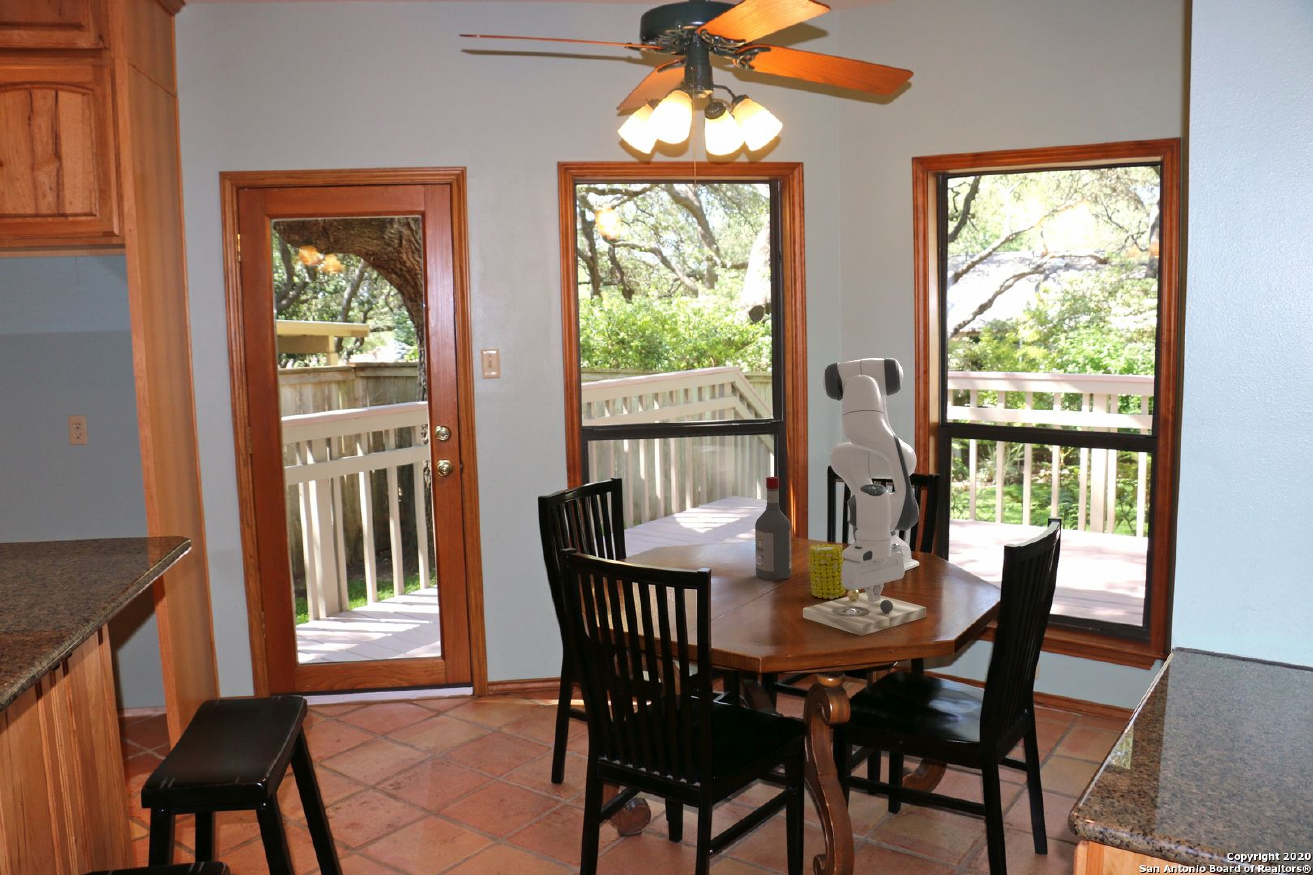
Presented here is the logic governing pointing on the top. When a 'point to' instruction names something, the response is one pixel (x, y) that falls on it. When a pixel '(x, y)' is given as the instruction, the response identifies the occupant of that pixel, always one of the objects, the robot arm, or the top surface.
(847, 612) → the steel ball
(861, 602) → the board
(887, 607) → the dark grey ball
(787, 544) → the liquor
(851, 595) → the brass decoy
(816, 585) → the food
